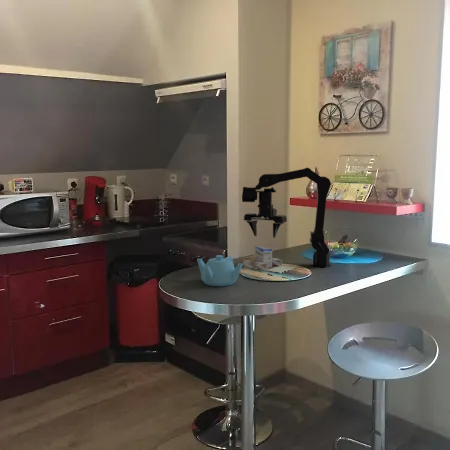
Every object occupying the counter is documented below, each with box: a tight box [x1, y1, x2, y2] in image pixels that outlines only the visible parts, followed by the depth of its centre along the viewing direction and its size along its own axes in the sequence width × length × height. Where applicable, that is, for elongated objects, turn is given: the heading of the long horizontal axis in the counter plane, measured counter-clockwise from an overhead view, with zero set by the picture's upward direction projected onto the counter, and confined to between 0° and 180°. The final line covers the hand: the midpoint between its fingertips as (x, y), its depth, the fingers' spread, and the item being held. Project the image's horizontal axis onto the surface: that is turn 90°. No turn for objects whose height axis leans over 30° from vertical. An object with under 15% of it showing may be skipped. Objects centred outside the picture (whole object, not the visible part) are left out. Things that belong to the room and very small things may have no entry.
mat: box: [266, 264, 296, 274], centre depth 222 cm, size 7×12×1 cm, turn 140°
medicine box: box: [254, 245, 273, 269], centre depth 227 cm, size 8×4×9 cm, turn 25°
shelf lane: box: [240, 254, 283, 272], centre depth 228 cm, size 14×12×4 cm
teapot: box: [196, 254, 243, 287], centre depth 200 cm, size 15×15×11 cm
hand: (264, 237), depth 231 cm, fingers open, 9 cm apart
